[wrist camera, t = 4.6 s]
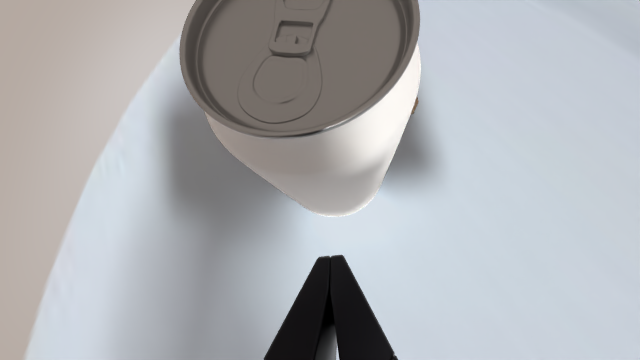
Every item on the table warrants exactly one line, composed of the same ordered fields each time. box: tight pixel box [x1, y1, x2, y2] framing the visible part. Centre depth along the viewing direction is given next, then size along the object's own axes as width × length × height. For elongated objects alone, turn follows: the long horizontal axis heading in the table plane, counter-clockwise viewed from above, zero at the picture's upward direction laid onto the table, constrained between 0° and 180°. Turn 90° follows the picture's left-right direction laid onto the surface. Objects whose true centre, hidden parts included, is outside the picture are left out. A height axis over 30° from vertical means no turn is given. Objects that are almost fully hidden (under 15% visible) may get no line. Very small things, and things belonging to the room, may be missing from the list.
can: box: [180, 0, 421, 217], centre depth 11 cm, size 6×6×12 cm
